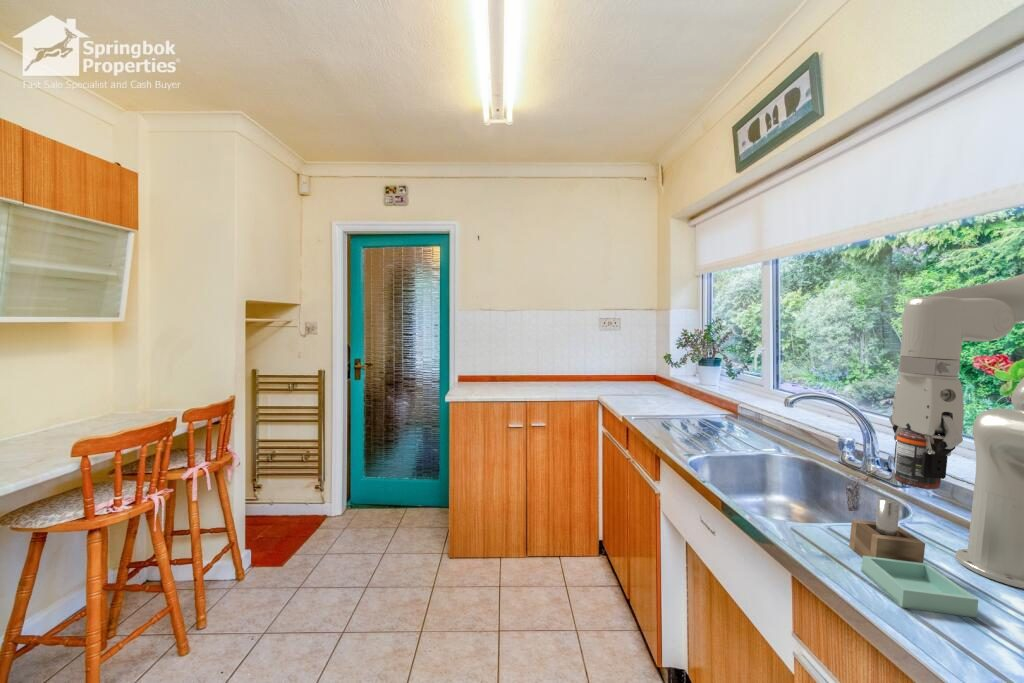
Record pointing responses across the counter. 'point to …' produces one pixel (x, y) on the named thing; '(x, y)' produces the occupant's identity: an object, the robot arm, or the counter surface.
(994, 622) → the counter surface
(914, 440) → the supplement bottle
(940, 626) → the counter surface
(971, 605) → the tray
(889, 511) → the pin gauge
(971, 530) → the robot arm
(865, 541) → the bore block
